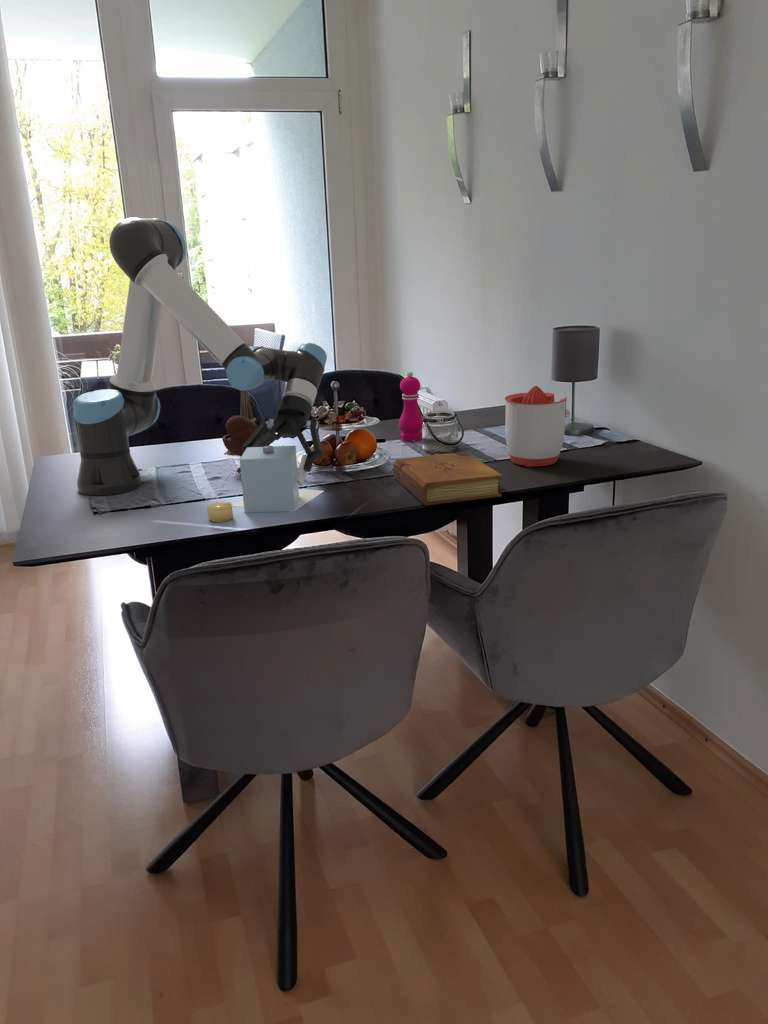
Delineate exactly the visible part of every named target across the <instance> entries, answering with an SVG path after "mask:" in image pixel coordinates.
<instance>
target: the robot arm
mask: <svg viewBox="0 0 768 1024" xmlns="http://www.w3.org/2000/svg"><path fill="white" fill-rule="evenodd" d="M108 241H109V242H108V243H109V249H110V250H109V251H110V254H111V256H112V258H113V260H114V262H115V263H116V264H117V266H118V267H119V269H120V270H121V271H122V272H123V273H124V274H125V275H126V276H127V277H128V279H129V282H128V283H129V285H128V290H127V291H128V292H127V298H126V304H125V305H126V307H125V313H124V321H123V327H122V335H121V341H120V342H121V343H120V350H119V357H118V364H117V372H116V374H114V375H113V376H111V377H110V378H109V383H108V388H106V389H105V388H104V389H98V390H97V389H96V390H95V389H94V390H93V391H88V392H85V393H82V394H80V395H78V396H77V397H76V398H75V399H74V400H73V403H72V404H73V405H72V406H73V415H72V416H73V419H74V423H75V428H76V429H75V430H76V437H77V442H78V447H79V448H78V449H79V453H80V464H79V469H78V473H77V475H78V476H77V481H76V485H77V491H78V492H79V493H80V494H82V495H87V496H109V495H110V496H111V495H115V494H116V495H117V494H122V493H127V492H130V491H132V490H135V489H137V488H139V487H141V486H142V484H143V483H142V475H141V472H140V471H139V469H138V467H137V465H136V463H135V461H134V459H133V457H132V454H131V448H130V442H129V441H130V440H129V437H131V436H133V435H137V434H138V433H143V432H145V431H146V430H147V429H149V428H150V427H151V426H153V425H154V424H155V423H156V422H157V420H158V419H159V417H160V416H159V415H160V412H161V403H160V398H158V396H157V387H158V386H157V384H156V383H154V381H153V374H154V369H155V368H154V367H155V360H156V354H157V348H158V342H159V335H160V330H161V324H162V323H161V321H162V317H163V309H164V308H165V310H166V311H167V312H168V313H170V315H171V316H172V317H173V318H174V319H175V320H176V321H177V322H178V323H179V324H181V326H182V327H183V328H184V329H185V330H186V331H187V332H188V333H189V334H190V335H191V336H192V337H193V339H195V340H196V341H197V342H198V344H200V345H201V346H202V347H203V348H204V349H205V350H206V351H207V352H208V353H209V354H210V355H211V357H213V358H214V360H215V361H216V362H217V363H218V364H219V365H220V366H221V367H222V368H223V369H224V370H225V371H226V373H225V374H226V378H227V381H228V383H229V384H230V385H231V387H233V388H234V389H236V390H238V391H241V390H242V391H245V390H248V391H249V390H254V389H256V388H259V386H261V385H263V384H265V383H269V382H270V381H276V382H282V383H283V382H284V383H286V385H285V388H284V391H283V393H282V398H281V400H280V403H279V405H278V410H277V416H276V417H275V418H273V419H272V418H269V416H266V415H265V416H263V418H262V420H261V423H260V424H259V425H258V428H257V429H256V430H255V431H254V432H253V434H252V435H251V436H250V437H249V438H248V439H247V441H246V442H245V443H244V444H243V445H242V447H241V448H242V449H243V451H244V452H245V450H246V449H247V447H264V446H271V444H273V443H274V442H275V441H278V440H280V439H281V438H282V439H287V438H289V439H295V438H297V439H298V440H299V443H300V444H301V446H302V448H303V450H304V452H305V454H302V457H301V460H300V463H299V465H298V468H297V476H296V479H295V480H296V482H297V483H298V487H303V486H304V483H305V479H306V476H307V473H309V472H311V469H312V467H313V463H314V461H315V460H317V459H323V457H324V453H323V448H322V443H321V440H320V439H321V437H320V433H319V430H320V423H319V422H318V420H317V419H316V417H313V418H311V420H310V417H311V413H312V411H313V406H314V404H315V401H316V397H317V394H318V390H319V387H320V385H321V380H322V378H323V375H324V373H325V370H326V369H325V367H326V364H327V359H328V358H327V357H328V356H327V352H326V351H325V350H324V348H322V347H321V346H320V345H318V344H316V343H314V342H313V343H312V342H305V343H301V344H300V345H299V346H298V348H297V350H296V351H293V350H283V349H277V348H271V347H265V346H262V345H261V346H255V345H250V346H249V345H247V343H246V342H245V341H243V339H241V337H240V336H239V335H238V334H237V333H236V332H235V331H234V329H232V328H231V327H230V326H229V325H228V324H227V322H226V321H224V319H222V318H221V316H219V314H217V313H216V311H215V310H214V309H213V308H212V307H211V306H210V305H209V304H208V303H207V302H206V301H205V300H204V299H203V297H201V296H200V295H199V294H198V293H197V292H196V291H195V290H194V289H193V287H192V286H191V285H189V283H188V282H187V281H186V280H185V279H184V278H182V276H181V275H180V274H179V273H178V272H177V271H176V269H177V267H179V266H180V265H181V264H182V263H183V261H184V259H185V256H186V252H187V245H186V240H185V238H184V235H183V234H182V232H181V230H180V229H179V228H178V227H177V226H176V225H175V224H173V223H172V222H170V221H168V220H165V219H161V218H156V217H152V218H150V217H145V218H143V217H141V218H140V217H128V218H124V219H123V220H120V221H119V222H118V223H116V225H115V226H114V227H113V228H112V230H111V233H110V235H109V240H108ZM307 428H308V429H309V431H310V435H311V436H310V437H311V441H312V446H313V450H312V449H311V447H310V445H309V443H308V441H307V440H306V437H305V435H304V433H303V432H304V431H305V430H307Z"/></svg>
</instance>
